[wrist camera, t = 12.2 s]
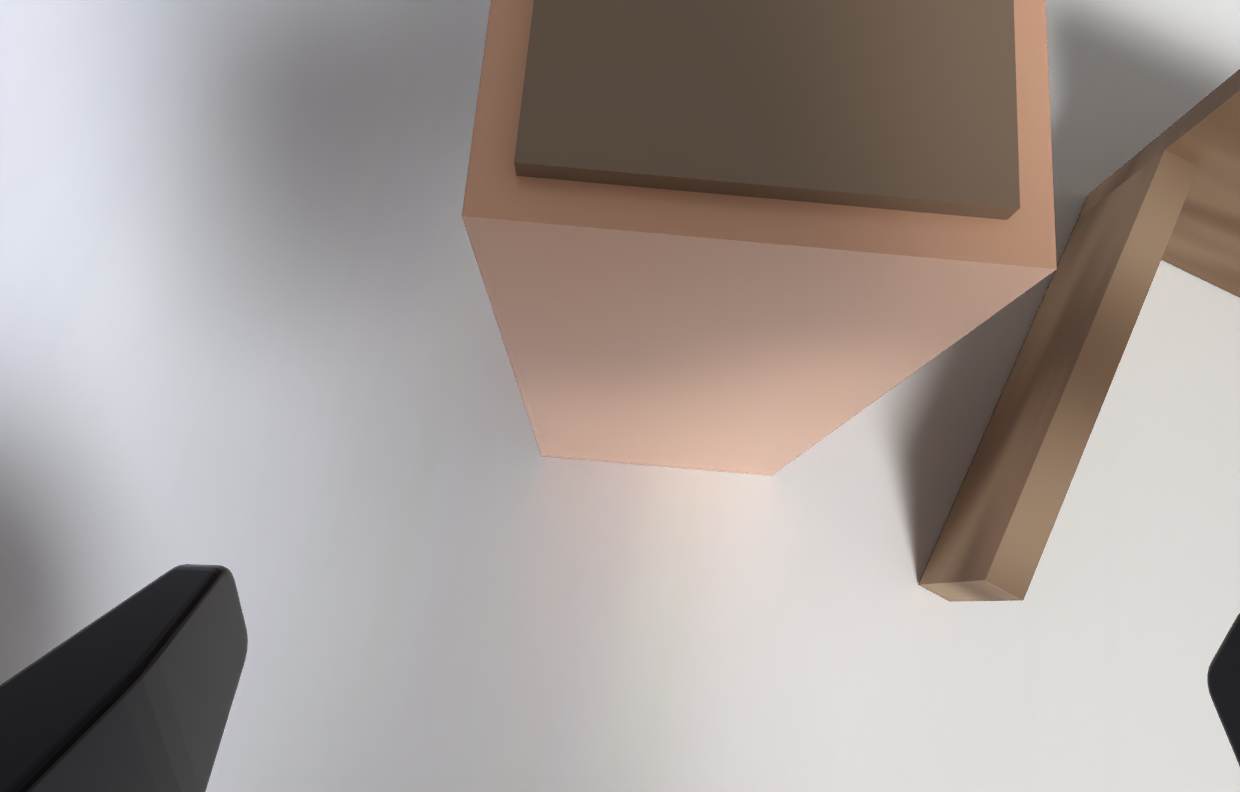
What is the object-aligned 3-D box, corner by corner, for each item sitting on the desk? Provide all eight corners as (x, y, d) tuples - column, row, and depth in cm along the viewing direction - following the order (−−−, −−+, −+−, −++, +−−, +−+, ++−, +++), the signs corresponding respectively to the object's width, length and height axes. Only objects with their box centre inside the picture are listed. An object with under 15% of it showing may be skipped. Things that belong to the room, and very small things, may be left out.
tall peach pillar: (771, 475, 21) (1071, 258, 8) (541, 455, 21) (457, 204, 8) (780, 261, 22) (1049, -231, 9) (564, 241, 22) (524, -282, 9)
